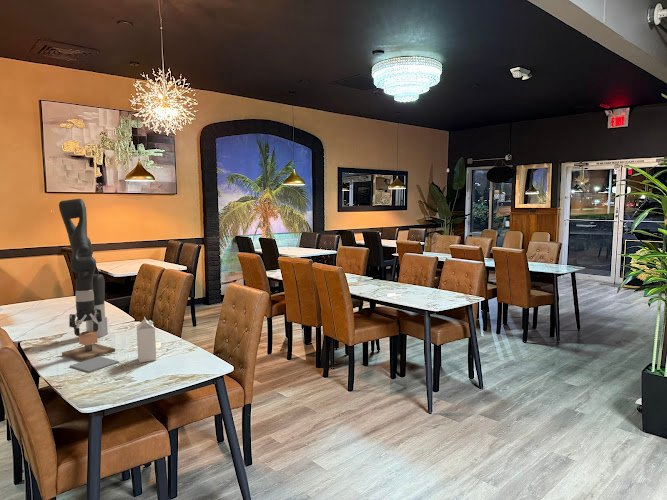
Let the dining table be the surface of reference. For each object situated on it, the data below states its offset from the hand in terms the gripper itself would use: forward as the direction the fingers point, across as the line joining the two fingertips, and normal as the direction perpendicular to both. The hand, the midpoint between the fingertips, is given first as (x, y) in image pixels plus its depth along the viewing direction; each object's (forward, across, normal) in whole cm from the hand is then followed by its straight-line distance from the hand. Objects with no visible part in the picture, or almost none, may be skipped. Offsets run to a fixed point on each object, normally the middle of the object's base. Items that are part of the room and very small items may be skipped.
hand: (86, 333), depth 215 cm
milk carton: (+10, -9, +31) cm, 34 cm away
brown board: (+10, -1, 0) cm, 10 cm away
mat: (+10, +7, +17) cm, 21 cm away
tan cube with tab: (+5, -1, 0) cm, 5 cm away
